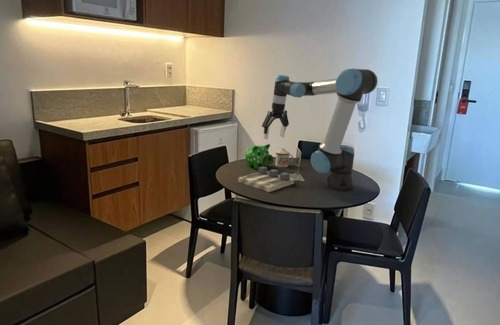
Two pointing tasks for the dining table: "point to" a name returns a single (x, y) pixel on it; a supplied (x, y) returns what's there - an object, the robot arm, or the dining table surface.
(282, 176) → the near tab
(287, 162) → the teacup with lid
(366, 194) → the dining table surface
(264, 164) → the piggy bank
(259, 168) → the far tab
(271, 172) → the middle tab
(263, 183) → the switch board
